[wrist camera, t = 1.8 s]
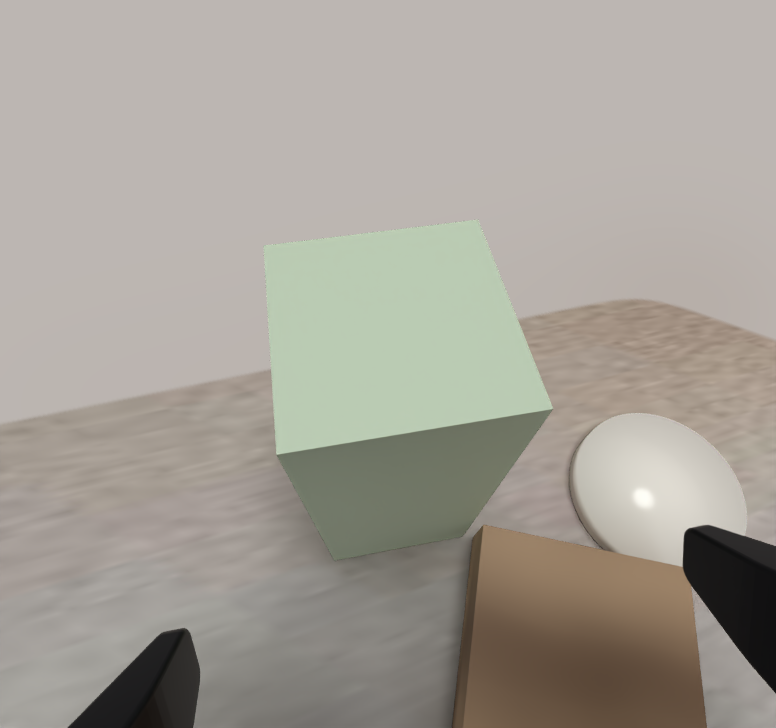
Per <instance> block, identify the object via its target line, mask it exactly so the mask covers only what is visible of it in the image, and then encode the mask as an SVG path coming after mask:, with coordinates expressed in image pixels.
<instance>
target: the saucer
mask: <svg viewBox="0 0 776 728" xmlns="http://www.w3.org/2000/svg"><path fill="white" fill-rule="evenodd" d="M569 483H570V492H571V497H572V500H573V503H574V507H575V509H576V512H577V514H578V516H579V518H580V520H581V522H582V523H583V525H584V527H585V528H586V530H587V531H588V532H589V534H590V535H591V536H592V538H593V539H594V540H595V541H596V542H597V543H598V544H599V545H600V547H601V548H603V549H604V550H605V551H610V552H615V553H619V554H624V555H629V556H634V557H638V558H643V559H648V560H652V561H657V562H662V563H667V564H671V565H676V566H681V567H683V541H684V533H685V531H686V530H687V529H688V528H692V527H697V526H702V525H712V526H715V527H718V528H721V529H724V530H727V531H730V532H733V533H737V534H740V535H743V536H745V532H746V527H747V510H746V503H745V499H744V495H743V492H742V489H741V486H740V484H739V481H738V480H737V478H736V476H735V474H734V472H733V470H732V469H731V467H730V466H729V464H728V463H727V461H726V460H725V459H724V458H723V456H722V455H721V454H720V453H719V452H718V451H717V450H716V449H715V448H714V447H713V446H712V445H711V444H710V443H709V442H708V441H707V440H705V439H704V438H703V437H702V436H700V435H699V434H698V433H696V432H695V431H693V430H691V429H690V428H688V427H686V426H685V425H683V424H680V423H678V422H676V421H674V420H671V419H668V418H665V417H662V416H658V415H654V414H646V413H630V414H623V415H619V416H615V417H612V418H610V419H608V420H606V421H604V422H602V423H601V424H599V425H598V426H597V427H596V428H594V429H593V430H592V431H591V432H590V433H589V434H588V435H587V437H586V438H585V439H584V440H583V441H582V442H581V443H580V445H579V446H578V448H577V450H576V451H575V454H574V456H573V458H572V462H571V466H570V474H569Z"/></svg>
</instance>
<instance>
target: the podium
mask: <svg viewBox="0 0 776 728" xmlns="http://www.w3.org/2000/svg"><path fill="white" fill-rule="evenodd" d="M452 728H707V724H706V715H705V706H704V697H703V688H702V679H701V671H700V662H699V653H698V644H697V635H696V626H695V617H694V608H693V599H692V590H691V584H690V583H689V581H688V580H687V578H686V576H685V574H684V571H683V567H681V566H676V565H671V564H667V563H662V562H657V561H652V560H648V559H643V558H638V557H634V556H629V555H624V554H619V553H615V552H610V551H605V550H601V549H596V548H591V547H586V546H582V545H577V544H572V543H568V542H563V541H558V540H554V539H549V538H544V537H539V536H535V535H530V534H525V533H521V532H516V531H511V530H506V529H502V528H497V527H492V526H488V525H483V526H482V527H481V528H480V530H479V531H478V532H477V533H476V534H475V536H474V537H473V540H472V550H471V559H470V568H469V577H468V586H467V595H466V604H465V613H464V622H463V631H462V640H461V649H460V658H459V667H458V676H457V686H456V695H455V704H454V713H453V722H452Z"/></svg>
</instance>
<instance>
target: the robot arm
mask: <svg viewBox="0 0 776 728" xmlns="http://www.w3.org/2000/svg"><path fill="white" fill-rule="evenodd" d="M683 571H684V574H685V576H686V578H687V580H688V581H689V583H690V584H691V586H692V587H693V588H694V590H695V591H696V592H697V594H698V595H699V596H700V598H701V599H702V600H703V602H704V603H705V605H706V606H707V607H708V609H709V610H710V611H711V613H712V614H713V615H714V617H715V618H716V619H717V621H718V622H719V623H720V625H721V626H722V627H723V629H724V630H725V632H726V633H727V634H728V636H729V637H730V638H731V640H732V641H733V642H734V644H735V645H736V646H737V648H738V649H739V650H740V651H741V653H742V654H743V655H744V657H745V658H746V659H747V660H748V662H749V663H750V664H751V665H752V666H753V668H754V669H755V670H756V671H757V672H758V674H759V675H760V676H761V677H762V678H763V679H764V680H765V682H766V683H767V684H768V685H769V686H770V687H771V688H772V690H773V691H774V692H775V693H776V546H774V545H770V544H767V543H764V542H761V541H758V540H755V539H752V538H749V537H746V536H743V535H740V534H737V533H733V532H730V531H727V530H724V529H721V528H718V527H715V526H712V525H702V526H697V527H692V528H688V529H687V530H686V531H685V533H684V541H683ZM199 685H200V667H199V663H198V659H197V656H196V652H195V648H194V645H193V641H192V638H191V634H190V632H189V631H188V630H187V629H185V628H181V629H176V630H171V631H166V632H163V633H161V634H160V635H158V636H157V637H156V638H155V639H154V640H153V641H152V642H151V643H150V644H149V645H148V646H147V647H146V648H145V649H144V651H143V652H142V653H141V654H140V655H139V656H138V657H137V658H136V659H135V660H134V661H133V662H132V663H131V664H130V665H129V666H128V667H127V668H126V669H125V670H124V671H123V672H122V673H121V674H120V675H119V676H118V677H117V678H116V679H115V680H114V681H113V682H112V683H111V684H110V685H109V686H108V687H107V688H106V689H105V690H104V691H103V692H102V693H101V694H100V695H99V696H98V697H97V698H96V699H95V700H94V701H93V702H92V703H91V704H90V705H89V706H88V707H87V708H86V709H85V710H84V711H83V713H82V714H81V715H80V716H79V717H78V718H77V719H76V720H75V721H74V722H73V723H72V724H71V725H70V726H69V727H68V728H193V726H194V719H195V712H196V705H197V698H198V692H199Z"/></svg>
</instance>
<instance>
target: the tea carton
mask: <svg viewBox="0 0 776 728" xmlns="http://www.w3.org/2000/svg"><path fill="white" fill-rule="evenodd" d="M264 261H265V277H266V292H267V293H266V294H267V309H268V325H269V341H270V358H271V374H272V390H273V406H274V423H275V439H276V455H277V457H278V458H279V460H280V462H281V464H282V466H283V468H284V469H285V471H286V473H287V475H288V477H289V478H290V480H291V482H292V484H293V486H294V488H295V489H296V491H297V493H298V495H299V497H300V499H301V500H302V502H303V504H304V506H305V508H306V510H307V511H308V513H309V515H310V517H311V519H312V521H313V522H314V524H315V526H316V528H317V530H318V532H319V533H320V535H321V537H322V539H323V541H324V543H325V544H326V546H327V548H328V550H329V552H330V554H331V555H332V557H333V559H334V561H336V560H341V559H346V558H352V557H357V556H362V555H367V554H373V553H378V552H383V551H388V550H394V549H399V548H404V547H410V546H415V545H420V544H425V543H431V542H436V541H441V540H446V539H452V538H457V537H462V536H463V535H464V534H465V533H466V531H467V530H468V528H469V527H470V526H471V524H472V523H473V521H474V520H475V518H476V517H477V516H478V514H479V513H480V511H481V510H482V509H483V507H484V506H485V504H486V503H487V502H488V500H489V499H490V497H491V496H492V494H493V493H494V492H495V490H496V489H497V487H498V486H499V485H500V483H501V482H502V480H503V479H504V478H505V476H506V475H507V473H508V472H509V471H510V469H511V468H512V466H513V465H514V463H515V462H516V461H517V459H518V458H519V456H520V455H521V454H522V452H523V451H524V449H525V448H526V447H527V445H528V444H529V442H530V441H531V440H532V438H533V437H534V435H535V434H536V432H537V431H538V430H539V428H540V427H541V425H542V424H543V423H544V421H545V420H546V418H547V417H548V416H549V414H550V413H551V411H552V410H553V407H552V405H551V402H550V400H549V397H548V395H547V392H546V390H545V387H544V385H543V382H542V380H541V377H540V374H539V372H538V369H537V367H536V364H535V362H534V359H533V357H532V354H531V352H530V349H529V347H528V344H527V342H526V339H525V337H524V334H523V332H522V329H521V327H520V324H519V322H518V319H517V317H516V314H515V312H514V309H513V307H512V304H511V302H510V299H509V297H508V294H507V292H506V289H505V287H504V284H503V282H502V279H501V277H500V274H499V272H498V269H497V266H496V264H495V261H494V259H493V257H492V254H491V252H490V249H489V246H488V244H487V241H486V239H485V237H484V234H483V231H482V229H481V226H480V224H479V221H478V220H471V221H463V222H455V223H446V224H438V225H430V226H422V227H414V228H405V229H397V230H390V231H381V232H372V233H364V234H356V235H348V236H340V237H331V238H323V239H315V240H306V241H298V242H290V243H282V244H273V245H265V246H264Z"/></svg>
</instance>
